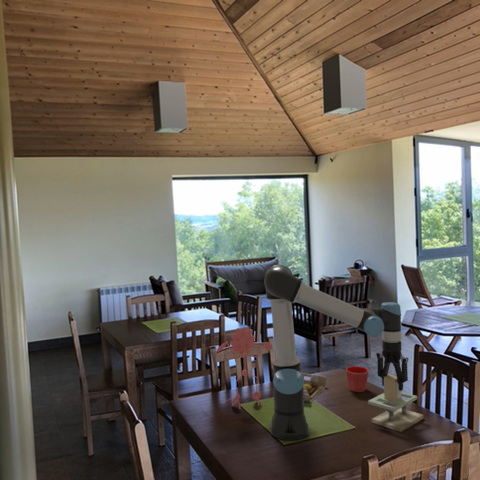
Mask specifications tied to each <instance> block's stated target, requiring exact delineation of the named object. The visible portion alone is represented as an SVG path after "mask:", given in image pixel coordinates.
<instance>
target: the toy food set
mask: <svg viewBox="0 0 480 480" xmlns="http://www.w3.org/2000/svg"><path fill="white" fill-rule="evenodd" d="M301 373H302V376H303V380H304V385H303V391H304V402H307V403H312V402H313V401H314V400H315V399H316V398H317V397H318V396H319V395H321V393H322V392H323V391H324V390H325V389H326V385H327V380H328V379H327V376H325V375H320V374H319V375H318V374H315V373H313V374H312V373H311V374H310V373H303V372H301ZM305 377H308V378H310V380H308V379H307V380H306V379H304V378H305ZM272 391H273V393H274V389H273V390H272Z"/></svg>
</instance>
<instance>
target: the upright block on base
mask: <svg viewBox="0 0 480 480" xmlns="http://www.w3.org/2000/svg"><path fill="white" fill-rule="evenodd" d="M397 382H398V380H397V376H396V375H393V374H388V375H387V376H385V377H384V386H383V393H381V394H378V395H377V396H375V397H373V398H371V399H368V401H367V404H368V405H372V406H374V407H378V408H381V409H384V410H386V411H387V410H391V411H394V412H395V411H397V410H398V409H400V408H402V407H404V406H406V407H407V406H408V405H409V404H411V403H413V402H415V401H416V400H418V396H417V395H415V394H411V393H407V392H403V391H402V397H404V398H402V397H401V398H399V399H397V396H396V383H397ZM405 398H406V400H405ZM389 404H392V405H389ZM407 404H408V405H407ZM393 405H394V407H392V406H393Z"/></svg>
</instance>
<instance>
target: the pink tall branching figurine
mask: <svg viewBox="0 0 480 480" xmlns="http://www.w3.org/2000/svg"><path fill="white" fill-rule="evenodd" d="M255 339H256V336H255V335H254V334H253V329H250V328H249V329H247V327H242V328H239V327H238V328H236V329H235V333H231V341H230V342H229V341H228V340H227V341H225V342H223V343H222V344H221V345H219V346H218V348H217V349H216V352H215V353H216V354H218V353H219V352H220V351H222V350H224V349H225V347H228V349H229V350H230V353H231V355H232V357H233V359H237V358H241V357H245V361H244V366H243V370H242V371H241V374H240V376H239V377H238V378H237V379H236V381H235V388H236V389H235V391H236V395H235V397H233V398H232V399H233V400H232V402H231V405H232V407H233V406H234V405H235V404H236V403H237V404H238V408H239V410H240V411H241V409H242V408H241V404H240V398H241V395H240V394H238V386H237V385H238V384H237V383H238V381H239V379H240V378H241V377H242V376H243V377H246V376H248V375H250V376H251V377H254V378H256V381H258V376H256V375H253V374H251V373H249V372H248V370H246V365H247V362H248V361H247V360H248V357H252V358H259V357H260V356H261V355H262V353H263V351H264V350H267V351H268V352H271V350H272V349H273V345H272V343H270V342H268V341H266V342H264V343H263V347H262V349H261V350H260V352H259V354H257V355H253V354H252V355H251V354H249V353H250V351H251V348H255V347H256V342H255ZM231 347H232V349H231ZM235 352H238V354H239V355H237V356H235V354H234V353H235ZM247 356H248V357H247ZM255 385H256V387H255V392H253V393H252V398H253V400H255V401H257V407H260V403H259V402H260V401H259V400H260V399H261V397H262V394H261V392H260V391H258V382H256V384H255ZM247 397H250V396H249V395H248V396H245V398H247ZM229 400H230V401H231V398H230V399H226V400H225V401H224V403H226V402H227V401H229Z"/></svg>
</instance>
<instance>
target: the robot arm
mask: <svg viewBox="0 0 480 480" xmlns="http://www.w3.org/2000/svg"><path fill="white" fill-rule="evenodd" d="M263 282H264V283H263V284H264V287H265V294H266V299H267V300H268V301H269V302H270V308H271V318H272V319H271V320H272V330H273V341H274V352H275V353H274V354H275V358H274V360H272V368H273V370H272V371H273V380H272V383H273V390H274V392H273V403H274V404H273V407H274V410H273V416H272V419H271V423H270V427H269V429H270V431H269V432H270V434H271V435H272V436H273V437H274V438H277V439H279V440H283V441H284V440H285V441H286V440H287V441H296V440H297V441H298V440H301V439H304V438H306V437H307V436H308V435H309V433H310V429H309V427H310V426H309V423H308V421H307V418H306V414H305V406H304V405H305V404H304V402H305V401H304V391H303V385H304V380H305V379H304V380H303V376H302V373H303V372H302V363H301V359H300V358H299V357H297V350H296V338H295V337H296V336H295V328H294V317H293V307H292V304H295V303H298V304H300V305H302V306H305V307H307V308H310V309H312V310H313V311H317V312H319V313H321V314H324V315H326V316H328V317H331V318H333V319H335V320H337V321H340V322H342V323H345V324H347V325H348V326H351V327H353V328H356V329H358V330H360V331H362V332H364V333H365V334H366V335H368V336H370V337H378V336H380V335H381V339H382V342H381V346H382V352H381V351H379V352H376V358H377V377H380V378H381V385H382V387H384V377H385V376H388V375H389V371H390V366H391V364H392V367H394V370H395V374H396V375H395V376H397V380H398V382H397V383H396V396H397V399H399V398H402V397H403V396H402V392H403V390H404V384H405V383H406V382H407V381H408V380H409V379H408V378H409V376H408V362H409V357H405V356H403V354H402V329H401V328H402V312H401V311H402V310H401V305H400V304H399V303H397V302H392V301H391V302H390V301H387V302H382V303H381V306H380V307H375V308H374V307H370V308H367V307H366V308H365V307H364V308H363V307H358V306H355V305H353V304H351V303H348V302H347V301H344V300H341V299H339V298H337V297H335V296H333V295H330V294H328V293H326V292H323V291H321V290H318V289H317V288H314V287H312V286H309V285H308V284H306V283H304V280H302V279H300V278H298V277H296V276H295V275H293V273H292V270H291V269H290V268H289V267H288V266H286V265H285V264H284V265H283V264H275V265H272V266H270V267H269V268H268V269H267V270H266V272H265V274H264V279H263Z"/></svg>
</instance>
